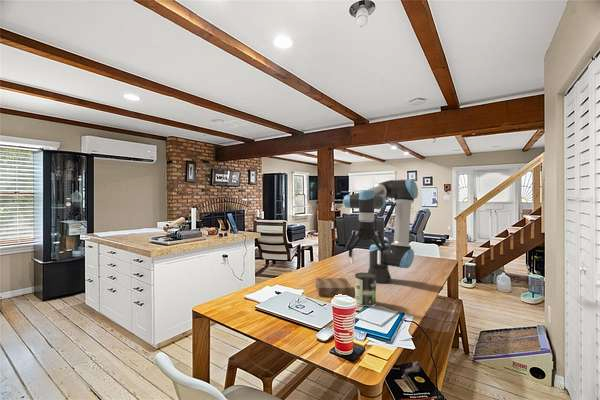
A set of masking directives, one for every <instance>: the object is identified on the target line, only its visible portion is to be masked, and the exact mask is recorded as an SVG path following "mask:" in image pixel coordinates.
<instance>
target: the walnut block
mask: <svg viewBox="0 0 600 400" xmlns="http://www.w3.org/2000/svg"><path fill="white" fill-rule="evenodd" d="M314 286H315V289H316V291H317V295H318V297H336V296H335V295H338V294H342V295H348V296H347V297H353V286H352V284H351V283H350V282H349V281H348V279H347V278H345V277H340V278H339V277H335V278H334V277H326V278H325V277H315V285H314Z"/></svg>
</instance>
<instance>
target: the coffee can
mask: <svg viewBox="0 0 600 400" xmlns="http://www.w3.org/2000/svg"><path fill="white" fill-rule="evenodd" d="M354 276H355V278H354V279H355V280H354V285H355V286H354V300H355V299H356V301H357V304H356V305H357V306H359V307H362V306H373V305H375V306H376V305H377V302H376V300H377V297H376V296H377V295H376V294H377V290H376V289H377V283H376V275H374V274H371V273H368V272H357V273H355V274H354ZM373 307H374V306H373Z"/></svg>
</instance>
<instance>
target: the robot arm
mask: <svg viewBox="0 0 600 400" xmlns="http://www.w3.org/2000/svg"><path fill="white" fill-rule="evenodd" d="M418 195H419V190H418V186H417V183H416V181H415V180H413V179H395V180H394V179H391V180H386V181H383V182H380V183H377V184H374V186H373V187H370V188H368V189H362V190H361V189H360V190H359V192H358V193H354V194H346V195H345V196H344V197H343V201H342V202H343V206H344V207H345V208H347V209H358V227H357V228H358V229H357V230H352V231H351V235H350V237H349V239H348V241H347V243H346V244H345V246H344V249H346V250H348V257H349V258H350V264H351V265H354V252H355V251H354V250H353V249H354V248H355V247H357V246H358V244H359V243H360V242H361V241H371V242H372V243H373V244H371V245H370V246H369V250H368V252H369V265H368V270H367V273H371V274H374V275H376V284H388V283H391V281H392V277H391V274H390V270H389V266H390V267H395V268H399V269H409V268H411V266H412V264H413V261H414V258H415V251H414V249H412V246H411V245H410V243H409V239H410V238H409V237H410V228H411V225H410V224H411V212H412V211H411V209H412V204H413V203H414V202H415V199H417V198H418ZM386 199H393V200H394V202H395V217H394V219H395V220H394V231H393V232H394V233H393V242H391V244H390V246H389V243H385V242H384V240H383V238H382V234H381V231H380V230H375V222H374V221H375V210H380V209H383V208H384V207H386V204H387V200H386ZM356 235H358V237H357V238H356V239H355V237H356ZM374 236H376V237H377V240H378V241H379V243H378V241H377V240H376V239H375V238H374ZM354 239H355V240H354ZM353 240H354V242H353Z"/></svg>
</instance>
